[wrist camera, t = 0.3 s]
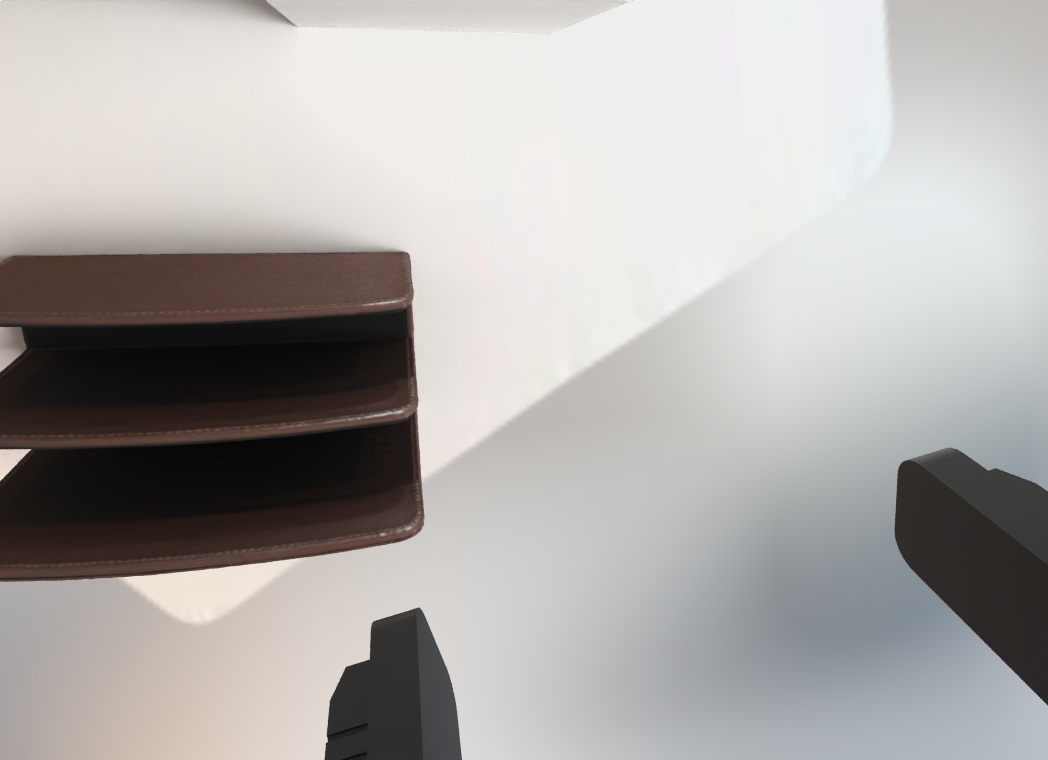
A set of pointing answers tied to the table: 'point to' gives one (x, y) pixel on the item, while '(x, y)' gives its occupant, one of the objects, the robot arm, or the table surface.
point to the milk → (444, 14)
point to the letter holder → (206, 411)
